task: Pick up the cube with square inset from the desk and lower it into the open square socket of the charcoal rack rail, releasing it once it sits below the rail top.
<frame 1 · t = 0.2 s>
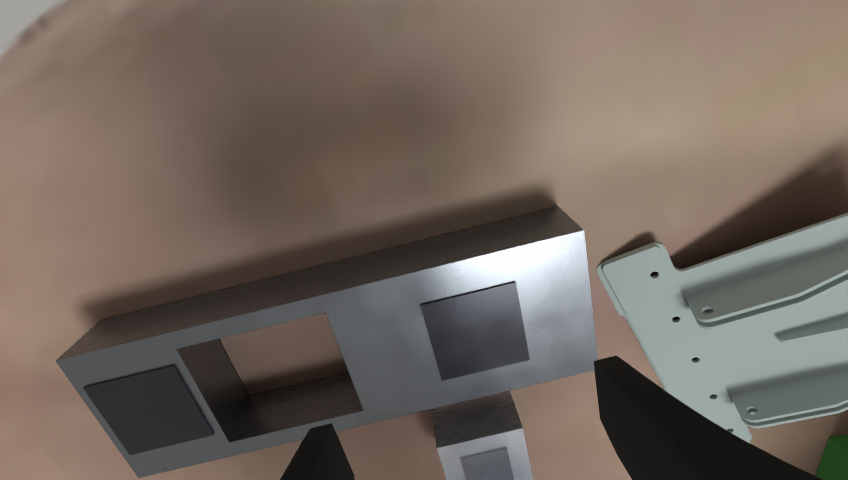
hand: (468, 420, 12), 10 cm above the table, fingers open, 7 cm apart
rack rail: (347, 326, 22), on the table
cube with square inset: (473, 406, 25), on the table
metal bracket: (752, 304, 24), on the table
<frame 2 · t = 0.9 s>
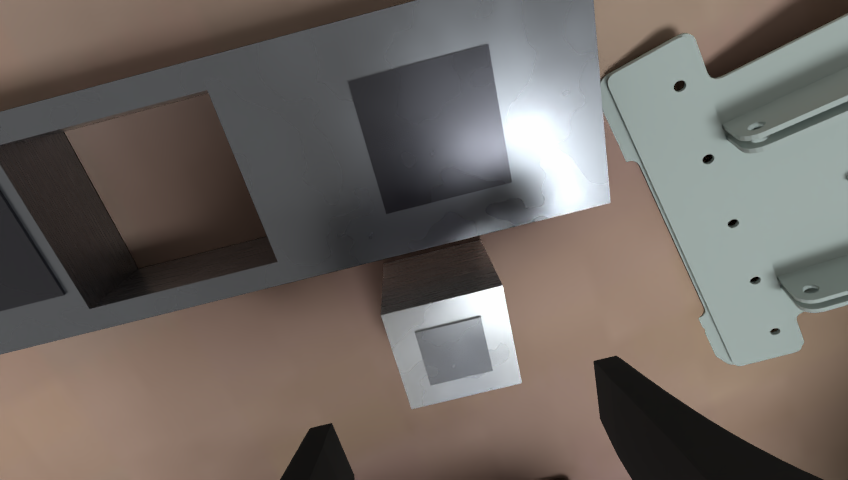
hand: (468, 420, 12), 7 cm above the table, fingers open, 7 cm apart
rack rail: (265, 162, 16), on the table
cube with square inset: (442, 293, 19), on the table
metal bracket: (806, 155, 18), on the table
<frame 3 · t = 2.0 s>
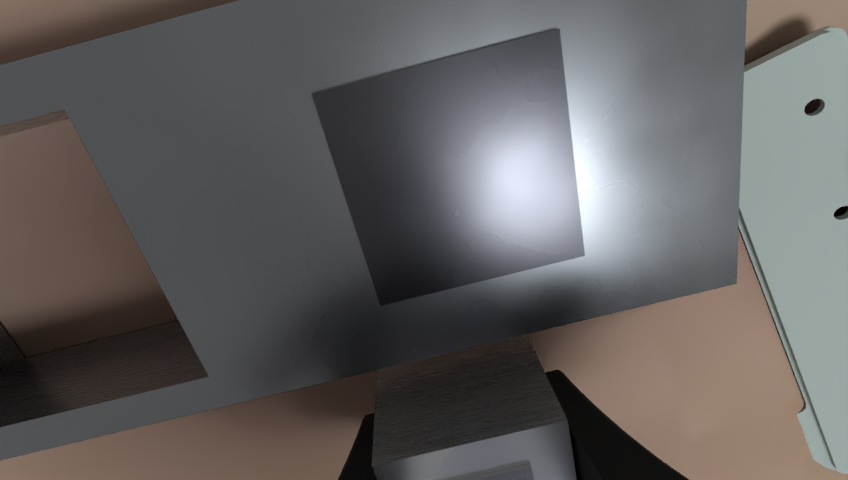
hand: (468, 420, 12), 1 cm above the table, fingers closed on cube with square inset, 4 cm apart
rack rail: (201, 210, 11), on the table
cube with square inset: (461, 384, 13), on the table, touching gripper
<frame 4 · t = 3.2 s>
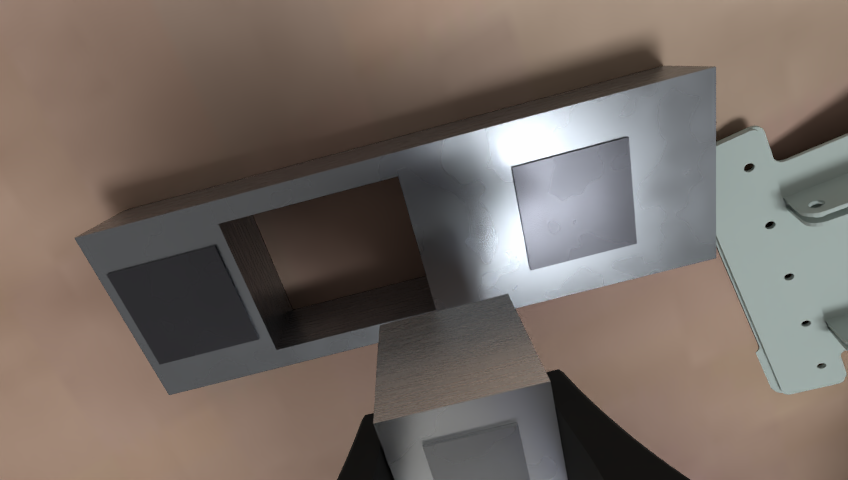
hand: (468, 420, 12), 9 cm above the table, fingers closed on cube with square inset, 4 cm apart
rack rail: (410, 220, 19), on the table
cube with square inset: (457, 362, 14), point 6 cm above the table, touching gripper
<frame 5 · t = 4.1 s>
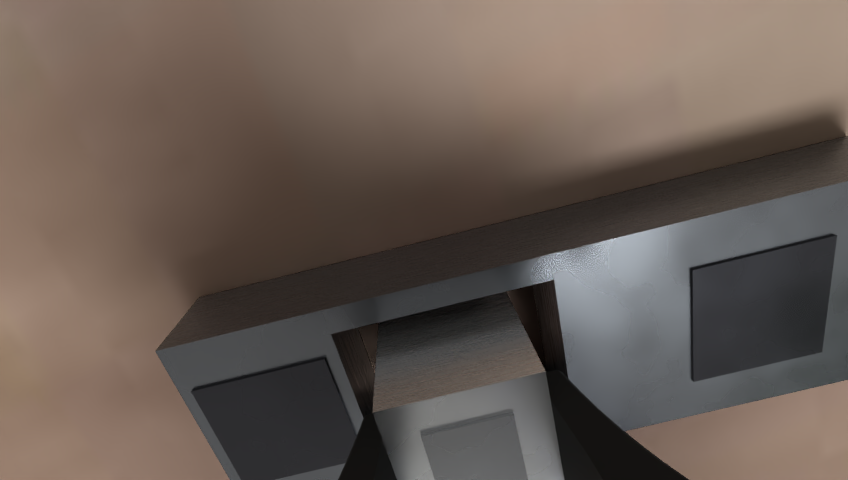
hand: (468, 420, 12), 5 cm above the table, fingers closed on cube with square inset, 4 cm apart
rack rail: (530, 307, 16), on the table
cube with square inset: (455, 356, 14), point 2 cm above the table, touching gripper
when the fingers open (3 cm above the table, at t = 4.7 s): cube with square inset stays where it is, resting in rack rail.
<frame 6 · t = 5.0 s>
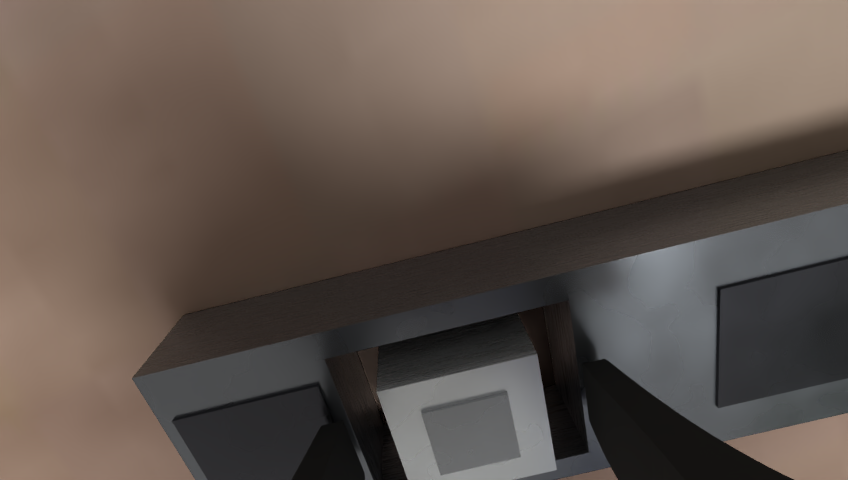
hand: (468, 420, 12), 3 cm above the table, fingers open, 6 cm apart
rack rail: (539, 324, 15), on the table
cube with square inset: (453, 342, 15), resting in rack rail
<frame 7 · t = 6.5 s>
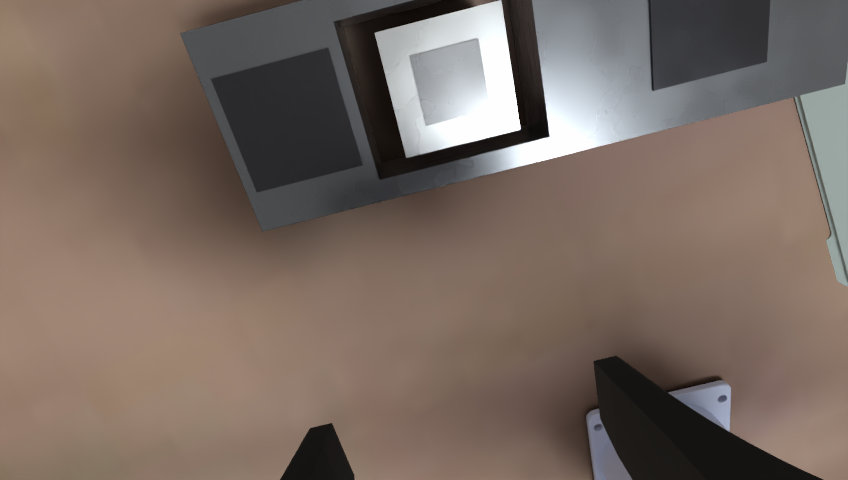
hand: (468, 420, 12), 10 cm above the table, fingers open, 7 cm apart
rack rail: (512, 59, 18), on the table
cube with square inset: (439, 78, 18), resting in rack rail
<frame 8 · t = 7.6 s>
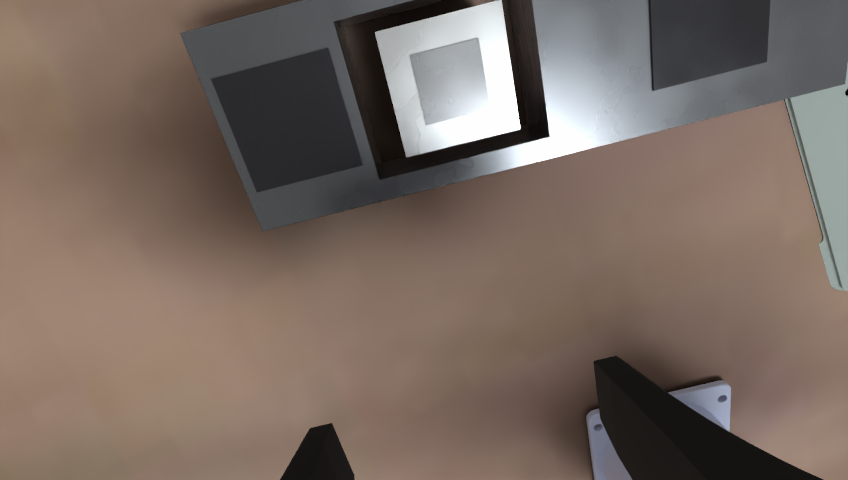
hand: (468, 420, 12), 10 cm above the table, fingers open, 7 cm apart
rack rail: (512, 59, 18), on the table
cube with square inset: (439, 78, 18), resting in rack rail
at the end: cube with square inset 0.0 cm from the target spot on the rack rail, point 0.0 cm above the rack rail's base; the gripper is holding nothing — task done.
